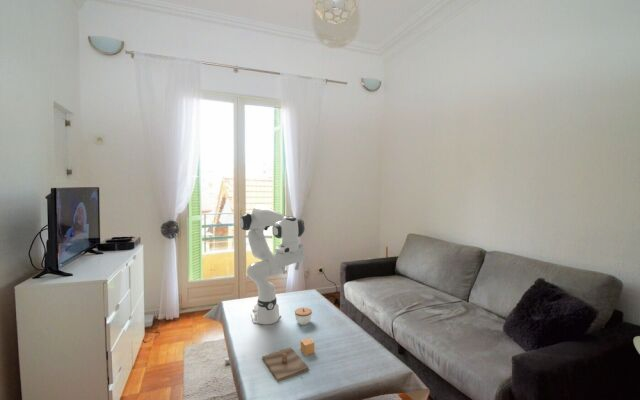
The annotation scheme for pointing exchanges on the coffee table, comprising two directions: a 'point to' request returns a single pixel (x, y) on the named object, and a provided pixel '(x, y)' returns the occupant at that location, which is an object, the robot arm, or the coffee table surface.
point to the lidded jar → (303, 315)
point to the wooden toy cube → (307, 346)
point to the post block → (284, 364)
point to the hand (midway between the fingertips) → (291, 271)
